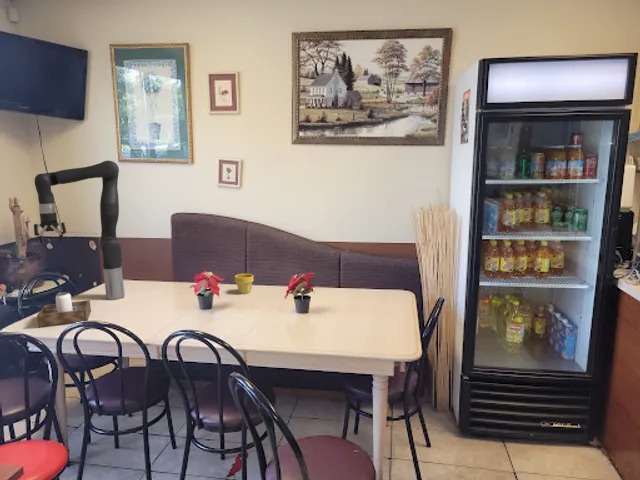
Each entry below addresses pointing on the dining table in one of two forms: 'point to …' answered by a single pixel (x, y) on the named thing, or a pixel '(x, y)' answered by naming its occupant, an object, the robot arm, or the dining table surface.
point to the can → (63, 302)
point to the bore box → (63, 314)
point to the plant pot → (244, 283)
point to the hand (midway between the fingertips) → (51, 242)
